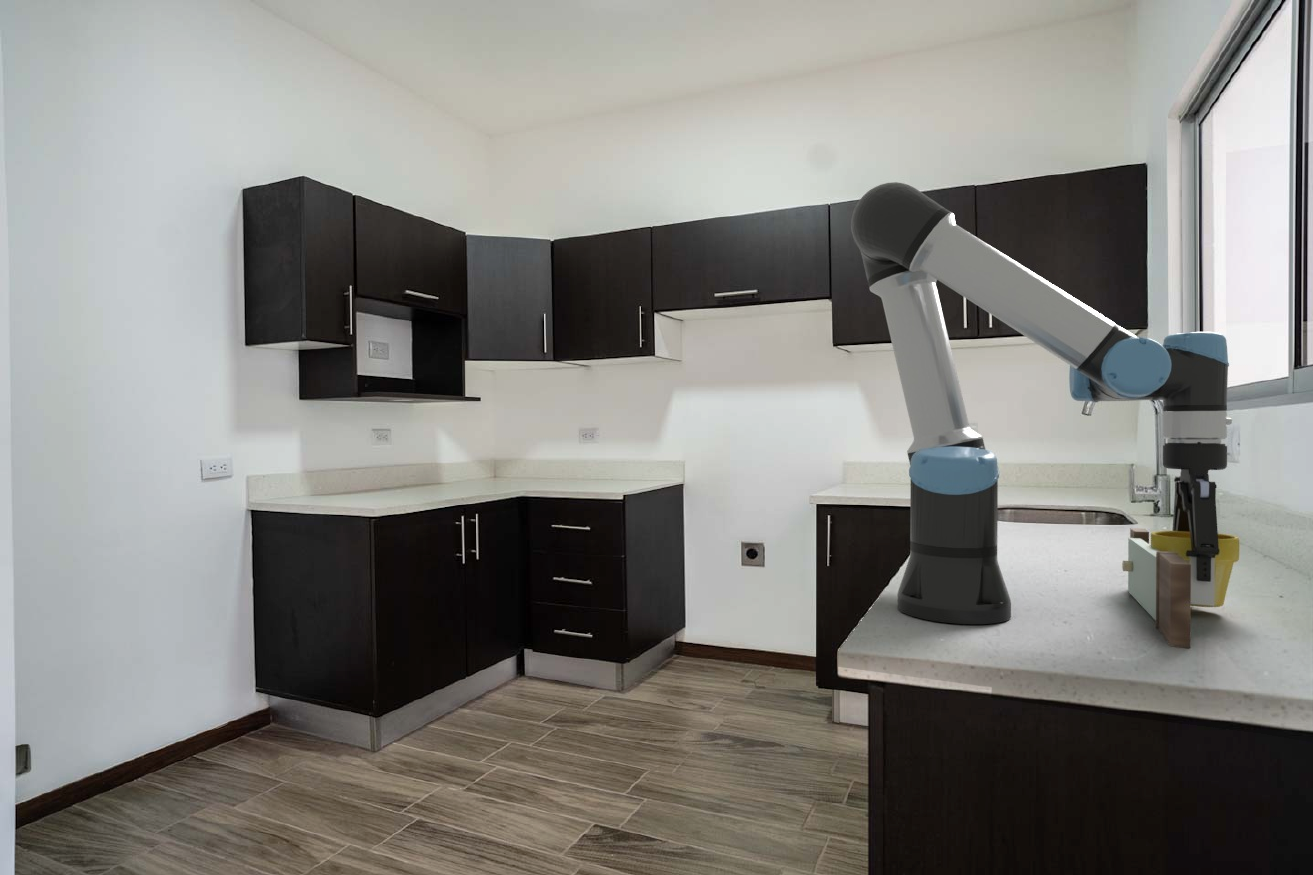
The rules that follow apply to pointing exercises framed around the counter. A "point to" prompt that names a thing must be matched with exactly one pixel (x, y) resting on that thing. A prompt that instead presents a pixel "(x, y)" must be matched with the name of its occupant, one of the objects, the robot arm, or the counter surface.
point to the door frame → (1171, 594)
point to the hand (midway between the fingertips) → (1193, 596)
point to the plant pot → (1223, 560)
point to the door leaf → (1142, 573)
